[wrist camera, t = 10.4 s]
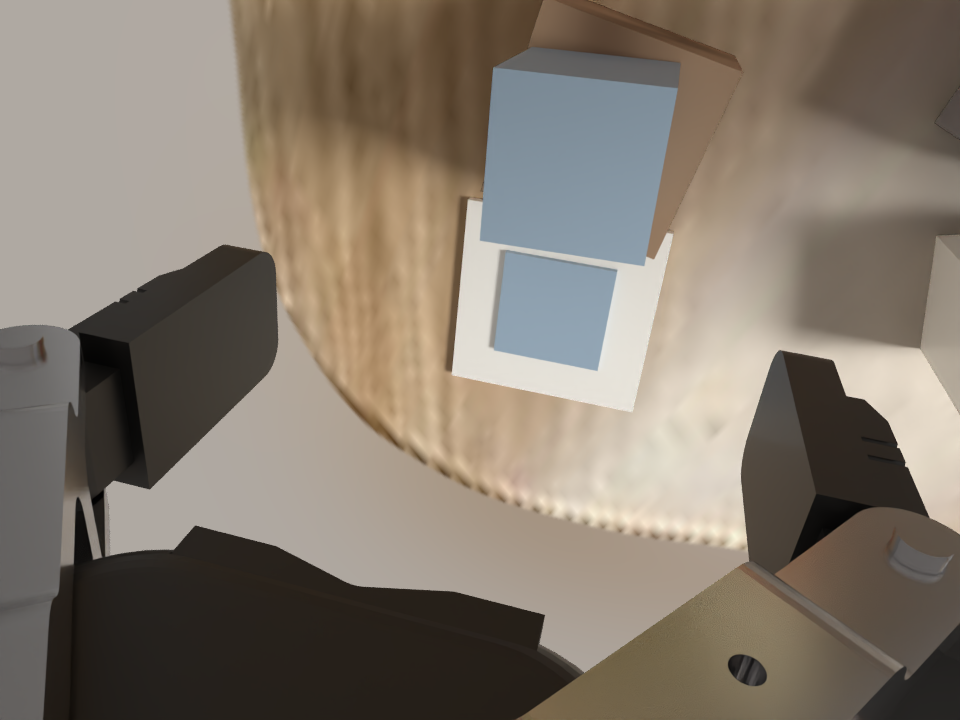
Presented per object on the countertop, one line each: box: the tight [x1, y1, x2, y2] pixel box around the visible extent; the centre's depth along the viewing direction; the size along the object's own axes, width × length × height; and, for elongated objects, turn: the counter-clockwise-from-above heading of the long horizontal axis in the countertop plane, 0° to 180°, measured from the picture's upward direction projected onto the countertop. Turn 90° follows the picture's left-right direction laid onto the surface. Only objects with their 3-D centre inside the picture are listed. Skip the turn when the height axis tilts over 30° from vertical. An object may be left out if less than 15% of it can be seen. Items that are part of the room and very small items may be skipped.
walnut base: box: [481, 0, 743, 259], centre depth 29 cm, size 7×7×5 cm
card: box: [452, 197, 674, 412], centre depth 35 cm, size 9×9×1 cm
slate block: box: [480, 47, 681, 266], centre depth 24 cm, size 5×5×6 cm
